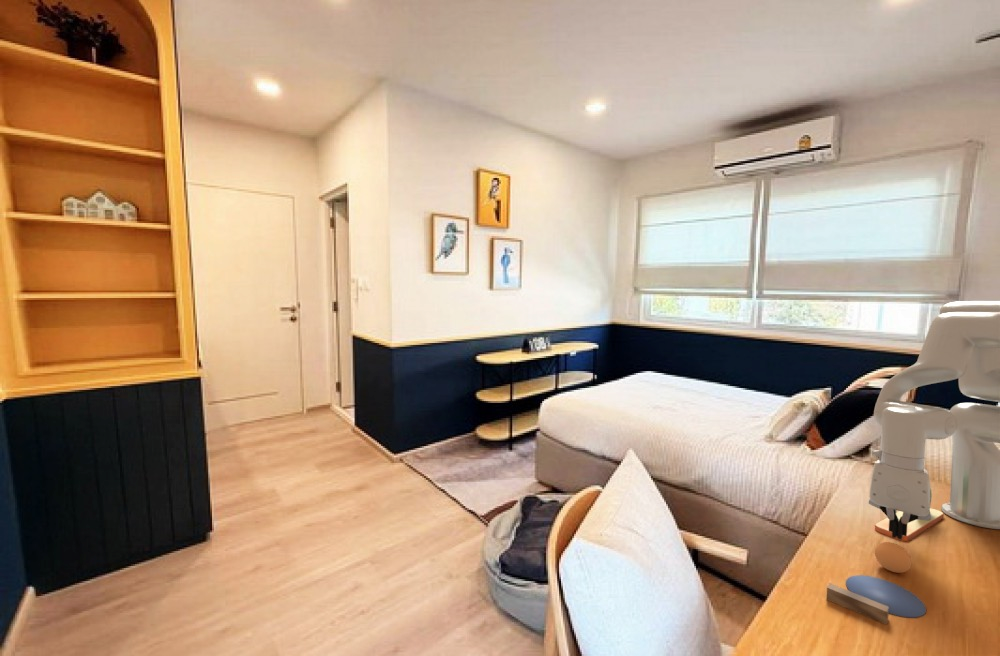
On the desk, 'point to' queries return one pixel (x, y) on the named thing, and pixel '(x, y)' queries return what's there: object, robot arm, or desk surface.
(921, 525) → the crank mechanism
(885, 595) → the mark
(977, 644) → the desk surface
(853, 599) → the stopper strip
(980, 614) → the desk surface
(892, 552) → the ball
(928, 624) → the desk surface
